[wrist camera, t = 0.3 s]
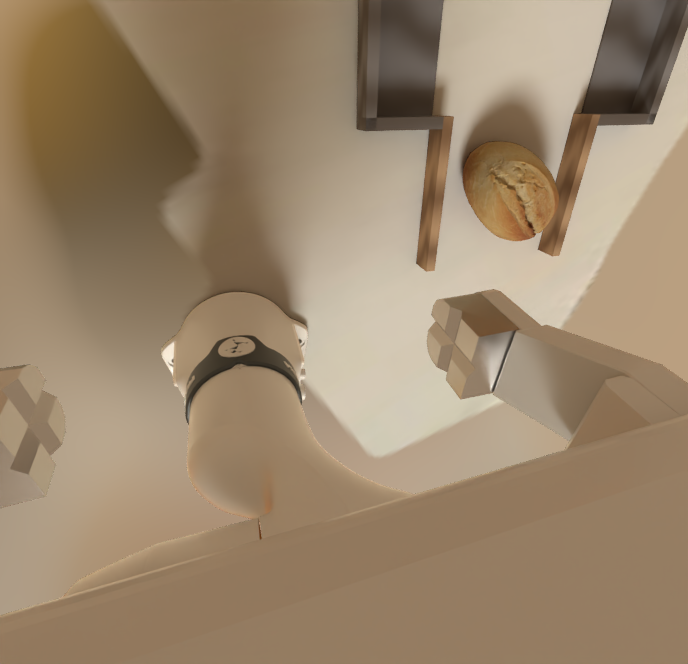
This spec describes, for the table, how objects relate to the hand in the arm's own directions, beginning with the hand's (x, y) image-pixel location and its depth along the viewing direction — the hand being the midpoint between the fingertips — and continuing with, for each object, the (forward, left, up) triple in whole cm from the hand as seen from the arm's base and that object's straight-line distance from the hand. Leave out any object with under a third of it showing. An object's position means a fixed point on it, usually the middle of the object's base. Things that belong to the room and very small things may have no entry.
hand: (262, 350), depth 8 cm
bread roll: (-6, -35, -40) cm, 53 cm away
